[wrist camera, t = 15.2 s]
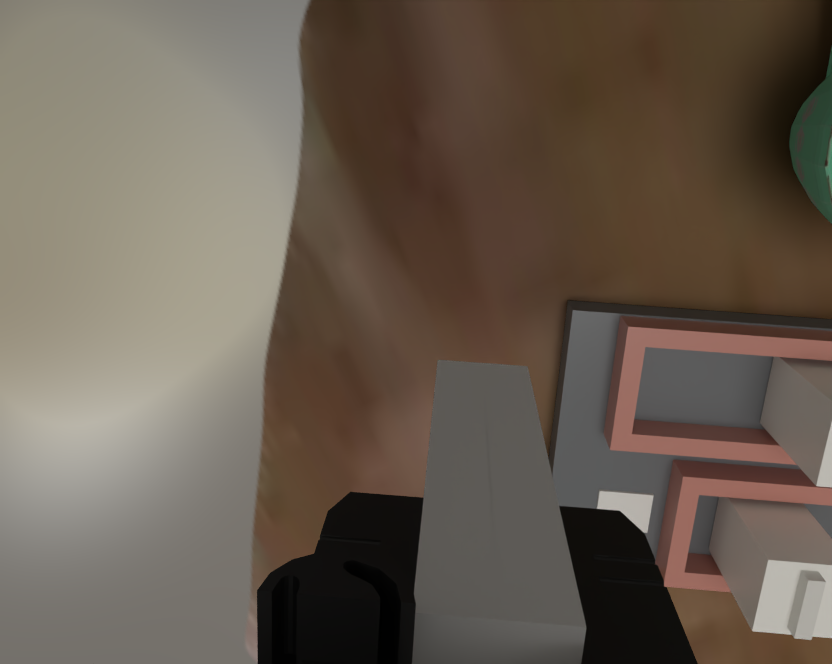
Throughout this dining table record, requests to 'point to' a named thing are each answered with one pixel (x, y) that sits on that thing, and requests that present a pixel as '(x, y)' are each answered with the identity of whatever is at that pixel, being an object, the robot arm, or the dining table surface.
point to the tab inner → (802, 414)
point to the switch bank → (676, 422)
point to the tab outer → (775, 565)
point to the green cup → (815, 145)
